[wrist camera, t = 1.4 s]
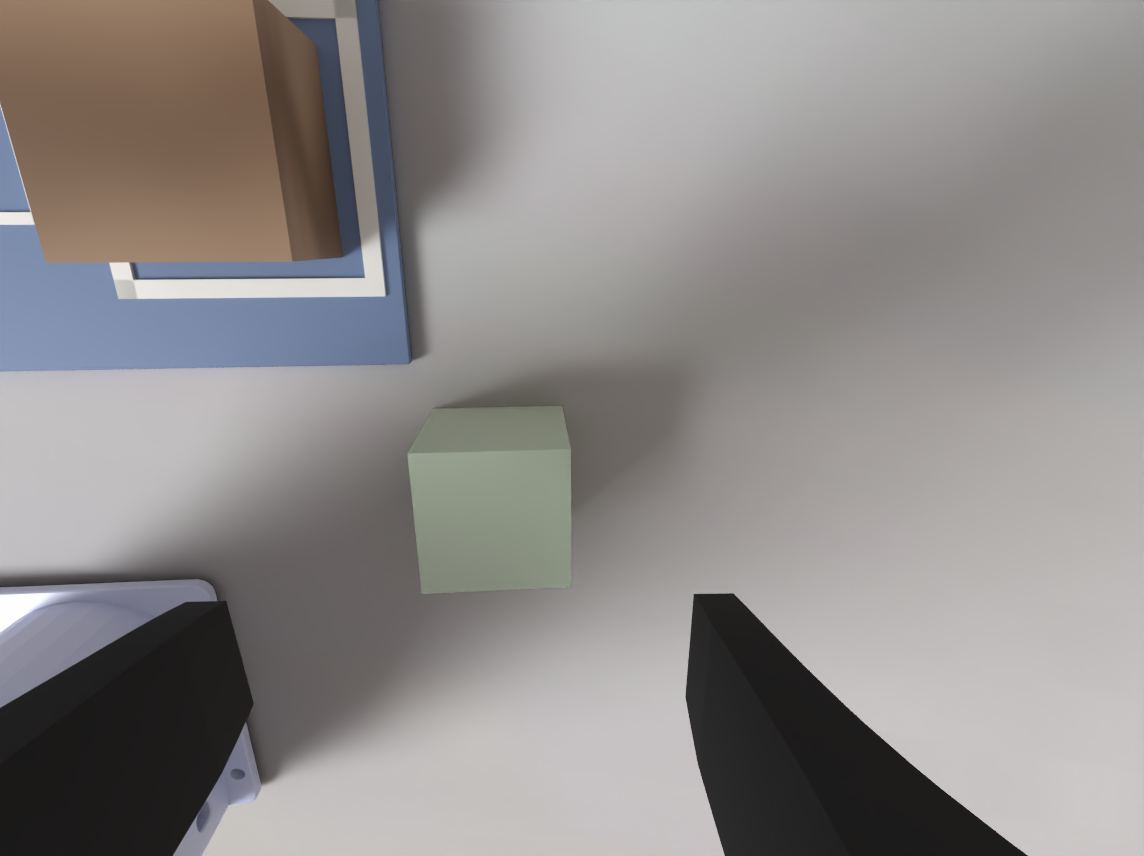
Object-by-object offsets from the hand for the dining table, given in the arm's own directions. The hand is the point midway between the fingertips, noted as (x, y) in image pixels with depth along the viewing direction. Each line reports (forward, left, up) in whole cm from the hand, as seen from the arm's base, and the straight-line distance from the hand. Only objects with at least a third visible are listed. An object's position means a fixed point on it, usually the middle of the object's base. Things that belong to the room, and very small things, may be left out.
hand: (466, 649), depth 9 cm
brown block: (+8, +6, -9) cm, 14 cm away
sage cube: (-1, 0, -10) cm, 10 cm away
